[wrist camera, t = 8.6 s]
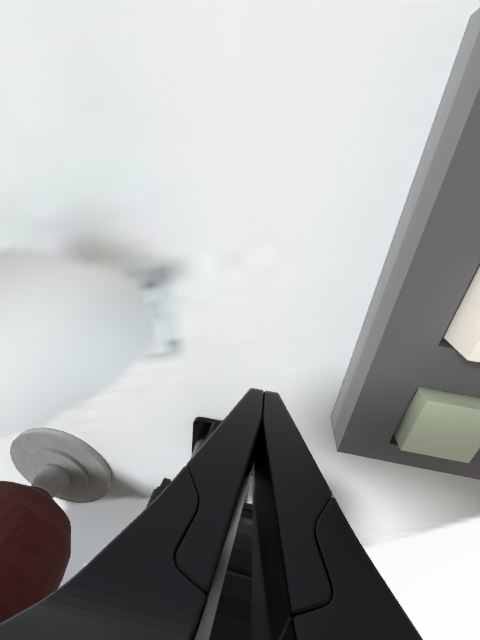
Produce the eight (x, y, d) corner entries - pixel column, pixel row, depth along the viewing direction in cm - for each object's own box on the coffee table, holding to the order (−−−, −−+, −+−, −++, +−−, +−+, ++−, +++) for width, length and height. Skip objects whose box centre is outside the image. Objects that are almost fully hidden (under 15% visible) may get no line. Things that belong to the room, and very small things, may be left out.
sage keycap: (449, 434, 22) (468, 463, 19) (388, 423, 22) (400, 450, 20) (478, 388, 20) (504, 414, 17) (411, 376, 20) (427, 400, 18)
